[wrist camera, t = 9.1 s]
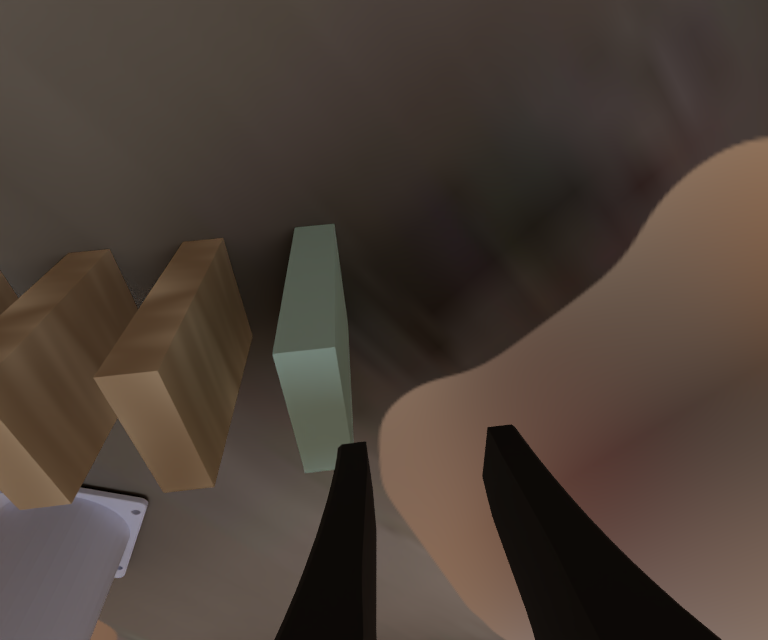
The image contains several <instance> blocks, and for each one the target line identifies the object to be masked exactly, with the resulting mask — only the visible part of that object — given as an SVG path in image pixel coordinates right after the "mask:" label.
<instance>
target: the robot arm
mask: <svg viewBox="0 0 768 640" xmlns="http://www.w3.org/2000/svg"><path fill="white" fill-rule="evenodd" d="M485 448H486V449H485V457H484V467H483V481H484V485H485V489H486V493H487V497H488V501H489V505H490V509H491V513H492V517H493V519H494V523H495V525H496V528H497V531H498V534H499V537H500V539H501V542H502V545H503V548H504V550H505V553H506V556H507V559H508V562H509V564H510V567H511V570H512V573H513V575H514V578H515V581H516V584H517V586H518V589H519V592H520V595H521V597H522V600H523V603H524V606H525V608H526V611H527V614H528V618H529V621H530V624H531V627H532V630H533V633H534V637H535V640H721V639H720V638H719V637H718V636H716V635H715V634H714V633H713V632H712V631H710V630H709V629H708V628H707V627H706V626H704V625H703V624H702V623H701V622H699V621H698V620H697V619H696V618H695V617H694V616H692V615H691V614H690V613H689V612H688V611H686V610H685V609H684V608H683V607H682V606H680V605H679V604H678V603H677V602H676V601H675V600H674V599H673V598H671V597H670V596H669V595H668V594H667V593H666V592H665V591H664V590H662V589H661V588H660V587H659V586H658V585H657V584H656V583H655V582H654V581H652V580H651V579H650V578H649V577H648V576H647V575H646V574H645V573H644V572H643V571H642V570H641V569H640V568H638V566H637V565H636V564H634V563H633V562H632V561H631V560H630V559H629V558H628V557H627V556H626V555H625V554H624V553H623V552H622V551H621V550H620V549H619V548H618V547H617V546H616V545H615V544H614V543H613V542H612V541H611V540H610V539H609V538H608V537H607V536H606V535H605V534H604V533H603V531H602V530H601V529H600V528H599V527H598V526H597V525H596V524H595V523H594V522H593V521H592V520H591V519H590V518H589V517H588V516H587V514H586V513H584V511H583V510H582V509H581V508H580V507H579V506H578V504H577V503H576V502H575V501H574V500H573V499H572V498H571V496H570V495H569V494H568V493H567V492H566V491H565V490H564V488H563V487H562V486H561V485H560V484H559V483H558V481H557V480H556V479H555V478H554V477H553V476H552V474H551V473H550V472H549V471H548V469H547V468H546V467H545V466H544V464H543V463H542V462H541V461H540V460H539V458H538V457H537V456H536V454H535V453H534V452H533V451H532V449H531V448H530V447H529V445H528V444H527V443H526V441H525V440H524V439H523V437H522V436H521V435H520V433H519V432H518V431H517V429H516V428H515V427H514V426H513V425H504V426H495V427H488V429H487V438H486V447H485ZM147 506H148V501H147V500H146V499H144V498H140V497H134V496H129V495H123V494H117V493H111V492H105V491H99V490H93V489H88V488H82V487H80V489H79V491H78V493H77V495H76V496H75V498H74V500H73V502H72V504H67V505H58V506H50V507H42V508H33V509H25V510H19V509H18V508H17V507H16V506H15V505H14V504H13V503H12V502H11V501H10V500H9V499H8V498H7V497H6V496H5V495H4V494H3V493H2V492H1V491H0V640H90V638H91V636H92V633H93V631H94V628H95V625H96V623H97V620H98V618H99V615H100V613H101V610H102V608H103V605H104V603H105V600H106V597H107V595H108V592H109V590H110V587H111V585H112V582H113V579H114V578H121V577H123V576H124V575H125V573H126V570H127V567H128V564H129V561H130V558H131V555H132V552H133V549H134V546H135V542H136V539H137V536H138V533H139V530H140V527H141V524H142V521H143V518H144V515H145V512H146V509H147ZM274 640H377V639H376V521H375V509H374V498H373V487H372V480H371V473H370V466H369V459H368V452H367V445H366V442H357V443H349V444H342V445H340V446H339V447H338V451H337V459H336V464H335V470H334V475H333V479H332V483H331V487H330V491H329V495H328V499H327V503H326V506H325V509H324V512H323V516H322V519H321V522H320V526H319V529H318V532H317V535H316V538H315V541H314V544H313V546H312V549H311V552H310V555H309V558H308V560H307V563H306V566H305V569H304V571H303V574H302V577H301V579H300V582H299V584H298V587H297V589H296V592H295V594H294V596H293V599H292V601H291V604H290V606H289V608H288V611H287V613H286V615H285V618H284V620H283V622H282V624H281V627H280V629H279V631H278V633H277V635H276V637H275V639H274Z"/></svg>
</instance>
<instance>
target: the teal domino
mask: <svg viewBox="0 0 768 640" xmlns="http://www.w3.org/2000/svg"><path fill="white" fill-rule="evenodd" d="M272 354H273V358H274V362H275V365H276V369H277V373H278V376H279V380H280V384H281V387H282V391H283V394H284V398H285V402H286V405H287V409H288V413H289V416H290V420H291V424H292V427H293V431H294V434H295V438H296V442H297V445H298V449H299V453H300V456H301V460H302V464H303V467H304V471H305V473H312V472H320V471H328V470H335V464H336V459H337V451H338V447H339V446H340V445H342V444H349V443H354V440H353V419H352V398H351V377H350V356H349V335H348V320H347V313H346V306H345V298H344V291H343V283H342V276H341V269H340V261H339V254H338V247H337V239H336V232H335V225H334V224H326V225H316V226H306V227H295V229H294V235H293V240H292V246H291V252H290V257H289V263H288V269H287V274H286V280H285V286H284V291H283V297H282V302H281V308H280V314H279V319H278V325H277V331H276V336H275V342H274V347H273V353H272Z"/></svg>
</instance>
